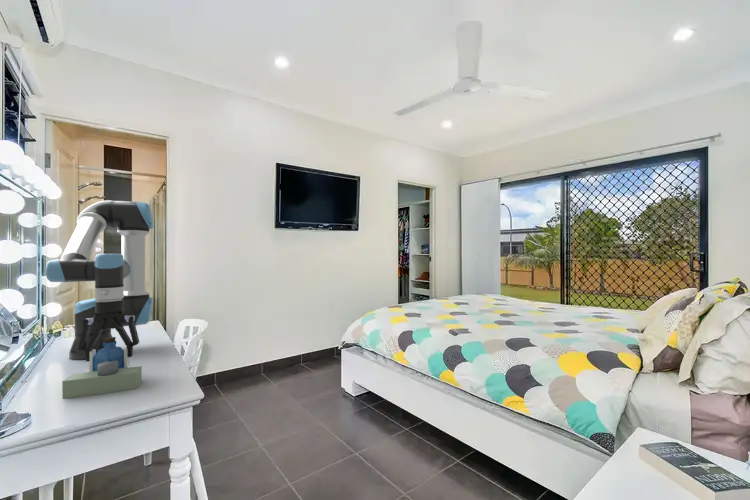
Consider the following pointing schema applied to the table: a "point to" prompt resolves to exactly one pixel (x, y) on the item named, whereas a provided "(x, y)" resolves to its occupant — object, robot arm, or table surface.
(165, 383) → the table surface
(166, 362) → the table surface
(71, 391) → the green slab with knob
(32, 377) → the table surface
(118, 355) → the perfume bottle
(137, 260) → the robot arm
